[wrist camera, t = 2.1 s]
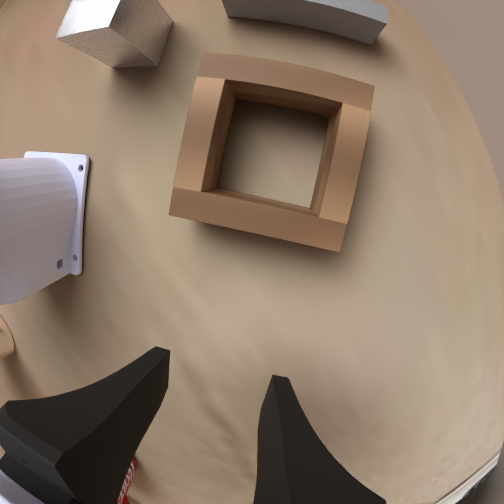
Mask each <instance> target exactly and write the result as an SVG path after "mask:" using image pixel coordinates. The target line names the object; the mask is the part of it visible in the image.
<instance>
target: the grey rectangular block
mask: <svg viewBox="0 0 504 504" xmlns="http://www.w3.org/2000/svg"><path fill="white" fill-rule="evenodd" d="M172 23H173V20H172V19H171V18H170V16H169V15H168V14H167V12H166V11H165V10H164V8H163V7H162V6H161V5H160V3H159V2H158V1H157V0H72V2H71V5H70V7H69V9H68V11H67V13H66V15H65V17H64V20H63V22H62V24H61V26H60V29H59V31H58V34H57V36H56V39H58V40H61V41H63V42H65V43H67V44H69V45H71V46H73V47H75V48H77V49H79V50H81V51H83V52H85V53H86V54H88V55H90V56H92V57H94V58H96V59H98V60H100V61H101V62H103V63H105V64H107V65H109V66H110V67H112V68H115V67H134V66H159V62H160V59H161V56H162V53H163V50H164V46H165V43H166V40H167V37H168V34H169V32H170V29H171V26H172Z"/></svg>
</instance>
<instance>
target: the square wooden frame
mask: <svg viewBox="0 0 504 504" xmlns="http://www.w3.org/2000/svg"><path fill="white" fill-rule="evenodd" d="M374 87H375V86H372V85H369V84H366V83H363V82H360V81H357V80H353V79H350V78H347V77H343V76H340V75H336V74H333V73H329V72H325V71H321V70H317V69H313V68H309V67H305V66H300V65H295V64H290V63H285V62H280V61H274V60H268V59H262V58H255V57H248V56H240V55H231V54H220V53H206V52H204V53H203V56H202V60H201V63H200V67H199V70H198V74H197V78H196V82H195V86H194V89H193V93H192V97H191V102H190V106H189V110H188V114H187V119H186V123H185V128H184V132H183V137H182V142H181V147H180V152H179V157H178V163H177V168H176V174H175V179H174V185H173V191H172V197H171V204H170V210H169V215H170V216H175V217H180V218H185V219H190V220H195V221H200V222H204V223H209V224H214V225H219V226H223V227H228V228H233V229H237V230H242V231H247V232H251V233H256V234H260V235H265V236H270V237H274V238H279V239H283V240H288V241H292V242H296V243H301V244H305V245H310V246H314V247H318V248H323V249H327V250H331V251H336V252H340V249H341V245H342V242H343V238H344V234H345V231H346V227H347V223H348V219H349V215H350V211H351V207H352V203H353V199H354V194H355V190H356V186H357V181H358V177H359V172H360V167H361V162H362V157H363V152H364V147H365V142H366V137H367V131H368V125H369V120H370V114H371V107H372V101H373V94H374ZM236 99H242V100H248V101H254V102H260V103H265V104H271V105H276V106H281V107H286V108H291V109H295V110H300V111H304V112H308V113H312V114H316V115H320V116H324V117H328V118H329V121H328V127H327V132H326V137H325V142H324V146H323V151H322V156H321V161H320V165H319V170H318V175H317V179H316V184H315V188H314V193H313V197H312V201H311V206H310V208H306V207H302V206H298V205H294V204H289V203H285V202H280V201H276V200H271V199H267V198H262V197H257V196H253V195H248V194H243V193H238V192H233V191H228V190H223V189H218V188H217V185H218V179H219V174H220V169H221V164H222V159H223V154H224V150H225V145H226V140H227V135H228V131H229V126H230V122H231V117H232V113H233V108H234V104H235V100H236Z"/></svg>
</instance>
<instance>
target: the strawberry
mask: <svg viewBox="0 0 504 504" xmlns="http://www.w3.org/2000/svg"><path fill="white" fill-rule="evenodd" d="M122 504H129V502H128V500H127V497H126V495H125V498H124V500H123V502H122Z"/></svg>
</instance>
